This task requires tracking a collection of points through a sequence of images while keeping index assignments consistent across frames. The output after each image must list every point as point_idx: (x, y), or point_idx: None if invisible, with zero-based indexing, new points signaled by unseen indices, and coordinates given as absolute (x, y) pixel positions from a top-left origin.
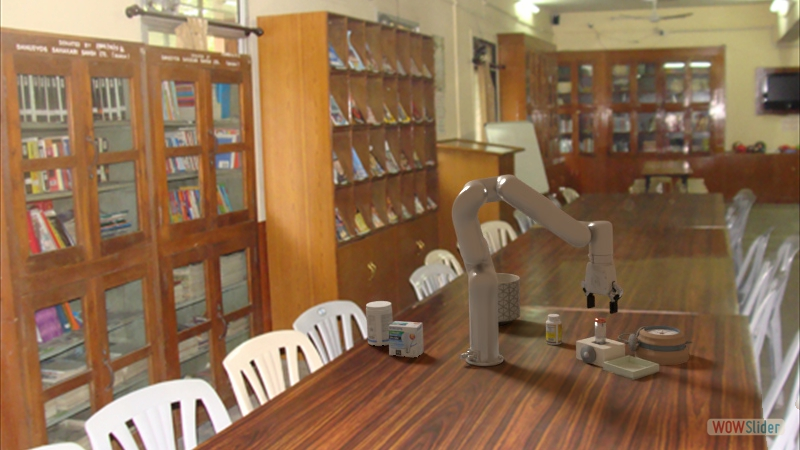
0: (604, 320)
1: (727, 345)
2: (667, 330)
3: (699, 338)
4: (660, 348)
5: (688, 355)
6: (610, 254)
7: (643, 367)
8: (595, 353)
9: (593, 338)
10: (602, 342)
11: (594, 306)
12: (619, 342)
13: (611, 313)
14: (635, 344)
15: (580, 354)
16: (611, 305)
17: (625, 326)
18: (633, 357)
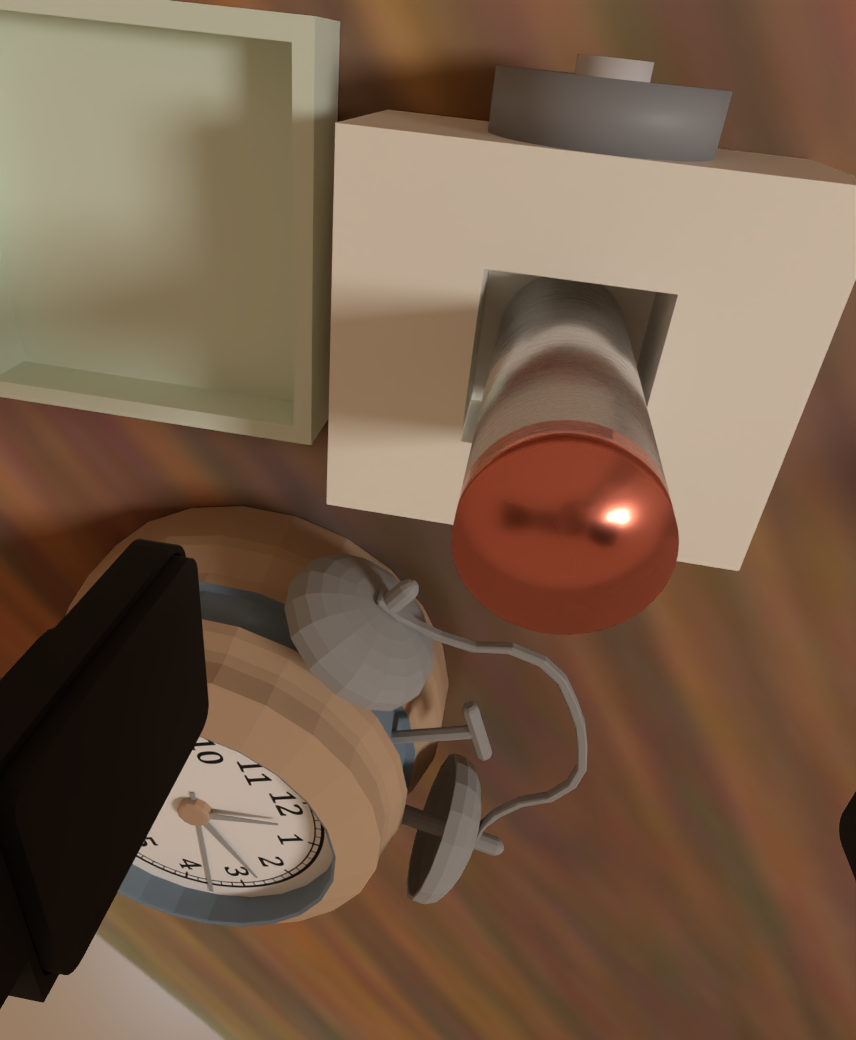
0: (454, 520)
1: (192, 947)
2: (233, 883)
3: (353, 981)
4: None
5: None
6: None
7: (121, 345)
8: (490, 121)
9: (723, 459)
10: (501, 341)
11: (847, 828)
12: (393, 504)
13: (139, 546)
14: (293, 581)
15: (753, 157)
16: (12, 702)
17: (815, 1015)
18: (239, 417)
